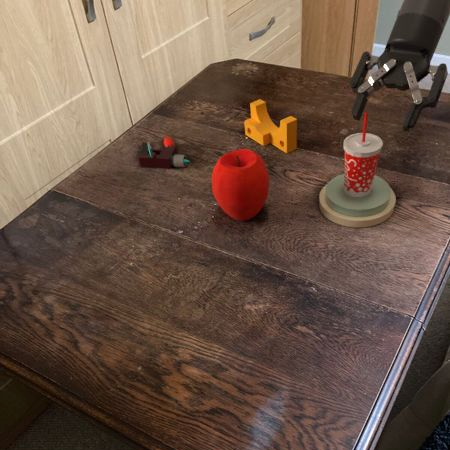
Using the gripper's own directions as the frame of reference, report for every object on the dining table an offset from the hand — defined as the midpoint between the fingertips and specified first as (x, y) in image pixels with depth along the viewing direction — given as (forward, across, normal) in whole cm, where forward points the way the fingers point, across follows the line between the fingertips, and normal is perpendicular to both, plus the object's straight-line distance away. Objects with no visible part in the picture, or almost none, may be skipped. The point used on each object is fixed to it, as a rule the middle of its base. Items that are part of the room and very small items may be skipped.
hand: (379, 124), depth 81 cm
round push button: (+13, 0, -5) cm, 14 cm away
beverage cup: (+11, 0, -3) cm, 11 cm away
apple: (+21, +16, +3) cm, 27 cm away
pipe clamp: (+5, +25, -13) cm, 29 cm away
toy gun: (+15, +41, -2) cm, 44 cm away
